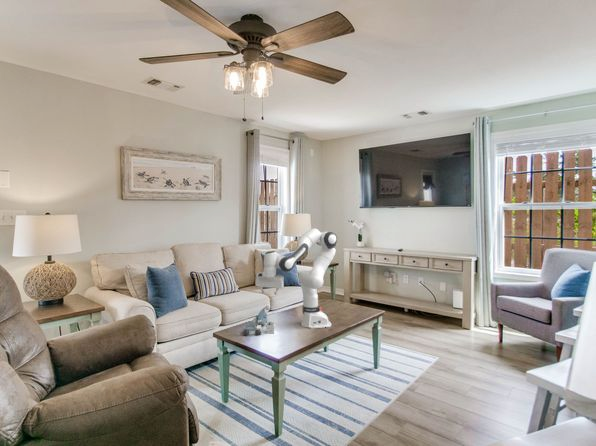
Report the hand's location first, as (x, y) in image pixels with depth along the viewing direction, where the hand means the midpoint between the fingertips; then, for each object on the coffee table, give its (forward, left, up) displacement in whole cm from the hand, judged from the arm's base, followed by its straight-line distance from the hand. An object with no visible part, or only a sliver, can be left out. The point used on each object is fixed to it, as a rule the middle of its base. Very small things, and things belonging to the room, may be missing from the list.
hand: (269, 293), depth 235 cm
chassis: (+11, +4, -26) cm, 29 cm away
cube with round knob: (-1, +4, -26) cm, 26 cm away
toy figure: (+5, -11, -26) cm, 29 cm away
